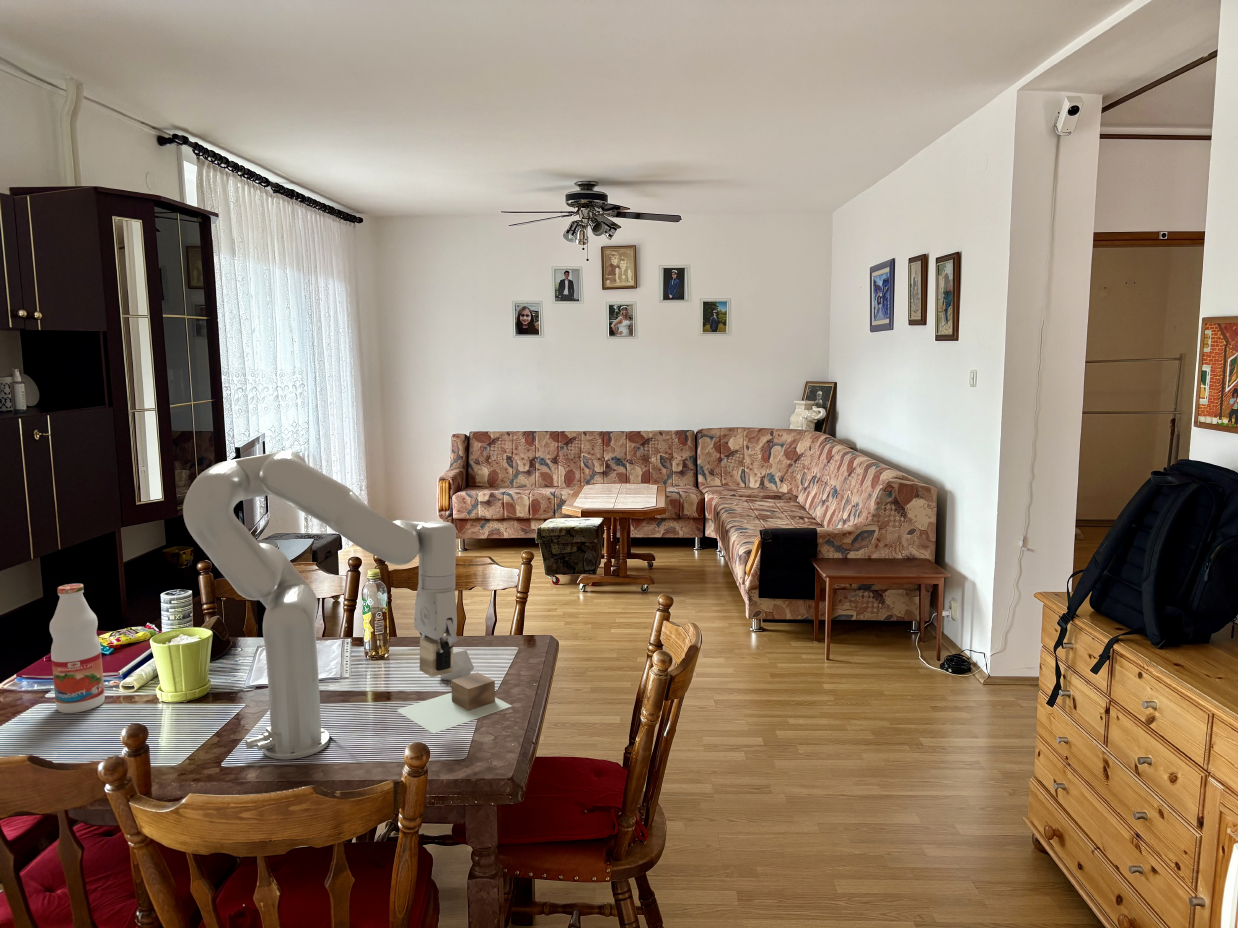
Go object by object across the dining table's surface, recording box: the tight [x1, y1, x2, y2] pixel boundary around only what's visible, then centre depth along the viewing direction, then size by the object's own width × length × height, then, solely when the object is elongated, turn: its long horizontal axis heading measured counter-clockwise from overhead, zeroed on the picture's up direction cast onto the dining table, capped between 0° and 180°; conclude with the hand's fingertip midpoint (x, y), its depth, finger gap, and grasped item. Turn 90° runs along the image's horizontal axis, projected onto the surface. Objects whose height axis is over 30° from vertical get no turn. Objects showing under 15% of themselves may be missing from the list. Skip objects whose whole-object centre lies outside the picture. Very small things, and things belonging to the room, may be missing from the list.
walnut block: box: [450, 671, 496, 711], centre depth 187 cm, size 7×7×5 cm
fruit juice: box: [49, 583, 106, 714], centre depth 187 cm, size 9×9×28 cm
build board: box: [395, 692, 512, 735], centre depth 184 cm, size 20×16×1 cm
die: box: [439, 647, 475, 682], centre depth 202 cm, size 8×9×10 cm
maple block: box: [419, 634, 454, 678], centre depth 174 cm, size 5×5×7 cm
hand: (436, 664), depth 175 cm, fingers closed on maple block, 5 cm apart
